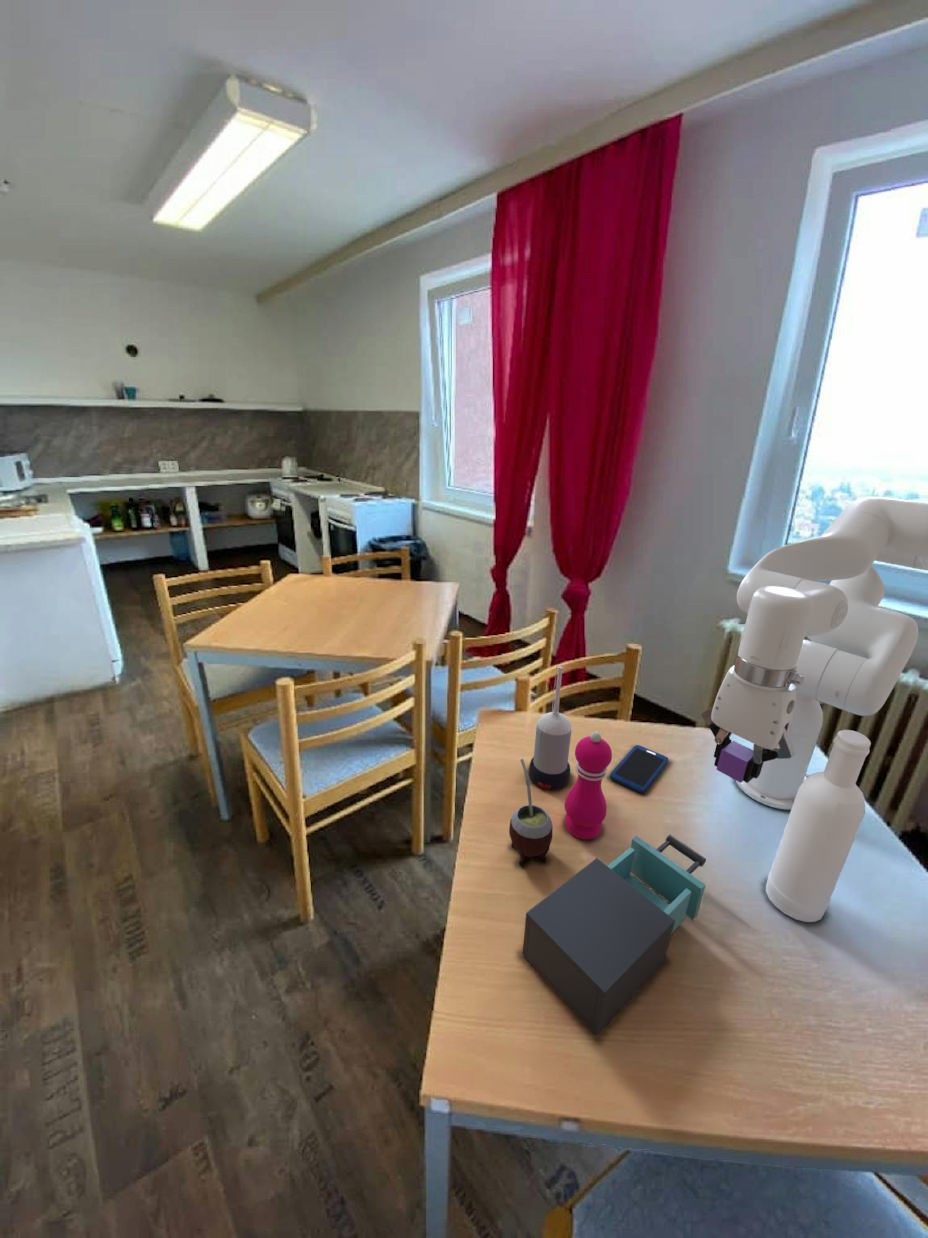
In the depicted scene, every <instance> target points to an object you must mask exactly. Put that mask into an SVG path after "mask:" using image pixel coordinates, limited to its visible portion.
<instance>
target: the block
mask: <svg viewBox="0 0 928 1238" xmlns="http://www.w3.org/2000/svg"><path fill="white" fill-rule="evenodd" d="M731 742H732V743H730V744H729V745H727V746H726V747H725V748H723V749H722V751H721V754H720V758H719V762H718V766H717V767H716V771H718V772H720V773H722V774H724V775H725V776H727V777H729V778H731V779H733V780H735V781H736V780H737V781H738V782H740V783H741V782H743V781H744V780H743V779H744V775H745V772H746V769H747V765H748V762H749V760H750V759H751V758H752V757H753V751H754V750H752V748H749V747H748V746H746V745H743V744H741V743H739V742H737V741H735V740H732V741H731Z"/></svg>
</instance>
